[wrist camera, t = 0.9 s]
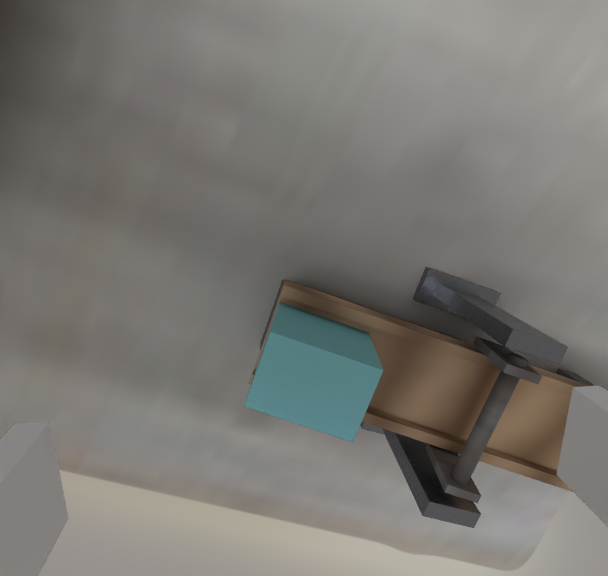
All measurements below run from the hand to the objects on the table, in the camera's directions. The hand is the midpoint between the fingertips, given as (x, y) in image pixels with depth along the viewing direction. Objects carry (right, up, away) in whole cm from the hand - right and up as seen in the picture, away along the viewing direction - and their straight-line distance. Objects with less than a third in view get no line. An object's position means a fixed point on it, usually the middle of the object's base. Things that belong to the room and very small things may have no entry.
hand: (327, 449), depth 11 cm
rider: (0, 0, +22) cm, 22 cm away
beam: (+12, -3, +28) cm, 31 cm away
